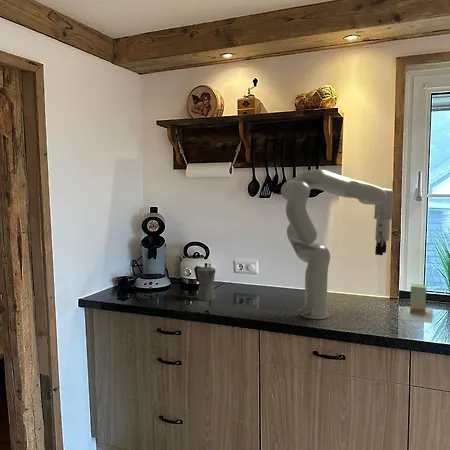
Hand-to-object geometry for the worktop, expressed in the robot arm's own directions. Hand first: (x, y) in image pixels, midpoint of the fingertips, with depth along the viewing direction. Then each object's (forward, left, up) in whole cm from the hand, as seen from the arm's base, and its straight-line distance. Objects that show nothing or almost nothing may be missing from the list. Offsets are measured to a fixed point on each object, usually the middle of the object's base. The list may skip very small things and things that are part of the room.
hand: (380, 253), depth 201 cm
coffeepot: (-56, +62, -26) cm, 87 cm away
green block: (+9, -14, -19) cm, 25 cm away
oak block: (+9, -14, -25) cm, 30 cm away
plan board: (+6, -15, -26) cm, 31 cm away
